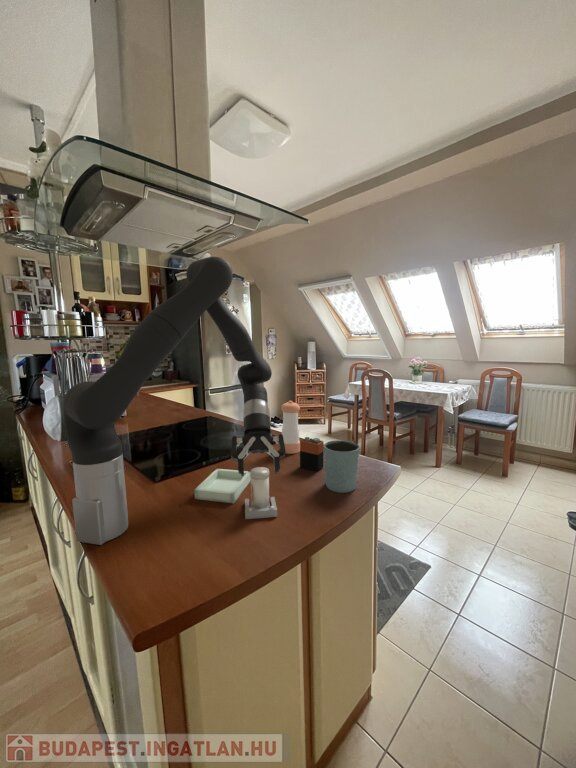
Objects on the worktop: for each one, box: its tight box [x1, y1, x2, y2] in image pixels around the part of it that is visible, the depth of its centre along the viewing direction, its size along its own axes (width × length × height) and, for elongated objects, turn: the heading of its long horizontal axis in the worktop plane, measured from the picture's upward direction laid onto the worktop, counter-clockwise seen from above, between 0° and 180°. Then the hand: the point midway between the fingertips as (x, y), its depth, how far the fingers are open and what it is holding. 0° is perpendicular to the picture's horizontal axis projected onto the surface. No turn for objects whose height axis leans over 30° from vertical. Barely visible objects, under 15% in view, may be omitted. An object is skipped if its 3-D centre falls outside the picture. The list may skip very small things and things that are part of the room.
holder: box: [244, 496, 278, 520], centre depth 79 cm, size 7×8×2 cm
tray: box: [193, 468, 251, 504], centre depth 90 cm, size 14×11×3 cm
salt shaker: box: [280, 400, 301, 455], centre depth 119 cm, size 7×7×19 cm
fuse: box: [250, 466, 271, 509], centre depth 79 cm, size 5×5×10 cm
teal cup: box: [323, 440, 360, 494], centre depth 91 cm, size 10×10×12 cm
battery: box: [299, 436, 325, 472], centre depth 104 cm, size 4×7×10 cm, turn 57°
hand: (259, 473), depth 81 cm, fingers open, 8 cm apart
